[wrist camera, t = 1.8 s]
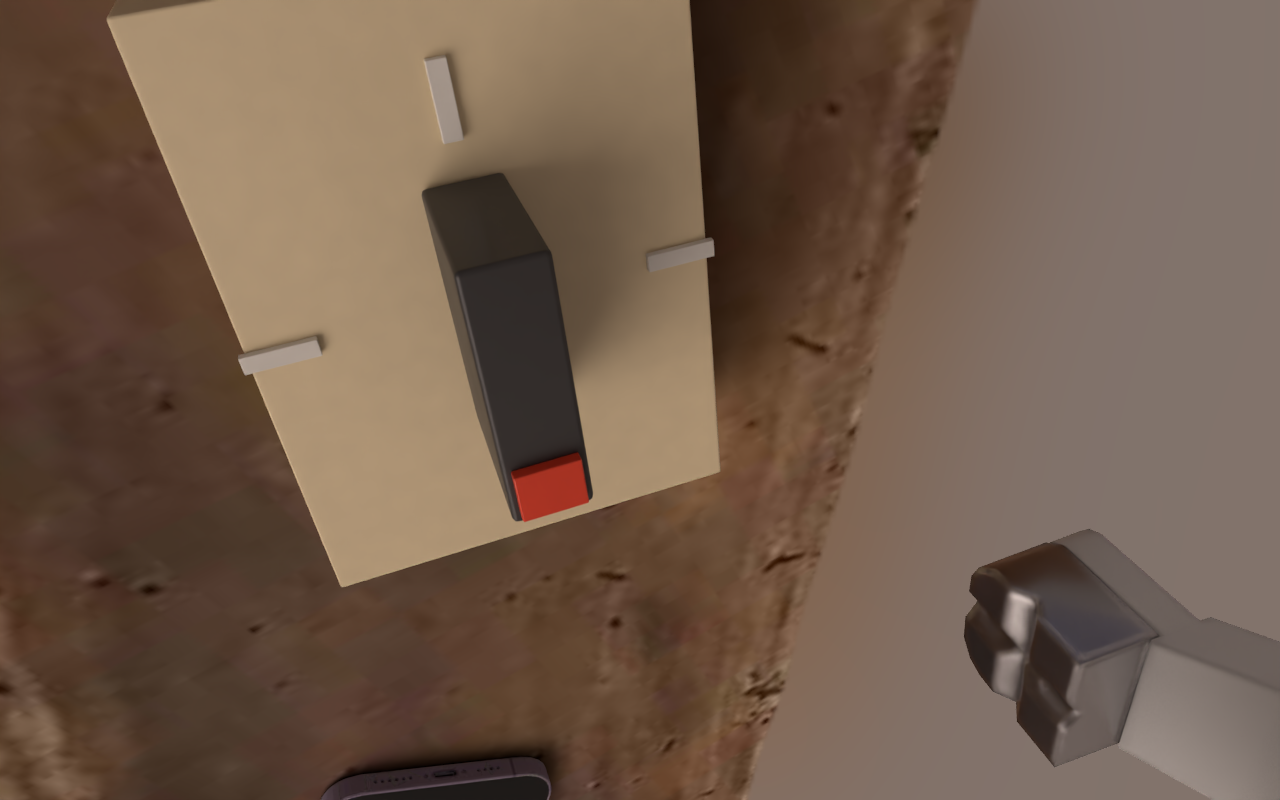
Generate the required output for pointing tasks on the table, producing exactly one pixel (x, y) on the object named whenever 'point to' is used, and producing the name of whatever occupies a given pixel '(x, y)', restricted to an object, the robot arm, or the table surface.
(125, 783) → the table surface
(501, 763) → the smartphone
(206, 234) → the plate
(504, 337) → the black red-tipped block
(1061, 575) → the robot arm
